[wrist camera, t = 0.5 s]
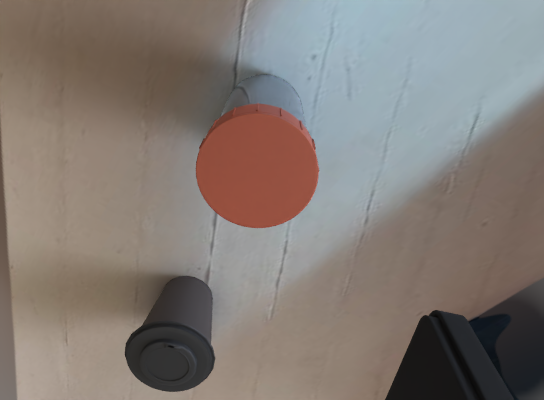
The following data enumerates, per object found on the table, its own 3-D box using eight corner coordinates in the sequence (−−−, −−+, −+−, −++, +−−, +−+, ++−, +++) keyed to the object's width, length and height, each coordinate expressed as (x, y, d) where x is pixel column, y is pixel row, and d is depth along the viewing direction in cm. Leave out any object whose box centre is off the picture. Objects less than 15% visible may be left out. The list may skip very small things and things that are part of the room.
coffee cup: (211, 257, 47) (195, 321, 38) (235, 318, 51) (225, 391, 42) (138, 274, 48) (105, 340, 39) (165, 333, 52) (141, 407, 43)
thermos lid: (178, 144, 30) (170, 157, 27) (274, 79, 28) (274, 87, 26) (244, 229, 32) (242, 247, 30) (337, 175, 30) (341, 190, 28)
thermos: (210, 102, 41) (179, 156, 28) (274, 58, 39) (273, 93, 26) (254, 163, 43) (243, 238, 30) (316, 123, 42) (334, 185, 29)
